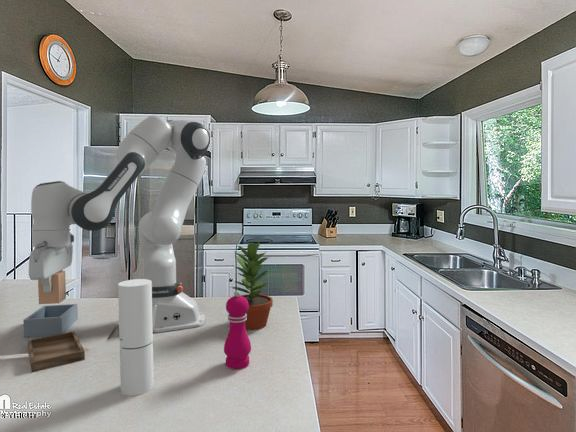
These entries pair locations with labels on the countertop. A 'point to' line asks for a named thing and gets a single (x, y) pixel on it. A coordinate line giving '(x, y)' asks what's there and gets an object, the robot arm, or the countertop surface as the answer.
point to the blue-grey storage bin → (50, 320)
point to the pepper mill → (237, 333)
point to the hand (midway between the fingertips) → (52, 288)
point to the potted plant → (253, 287)
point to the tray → (55, 351)
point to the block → (58, 290)
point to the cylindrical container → (136, 336)
